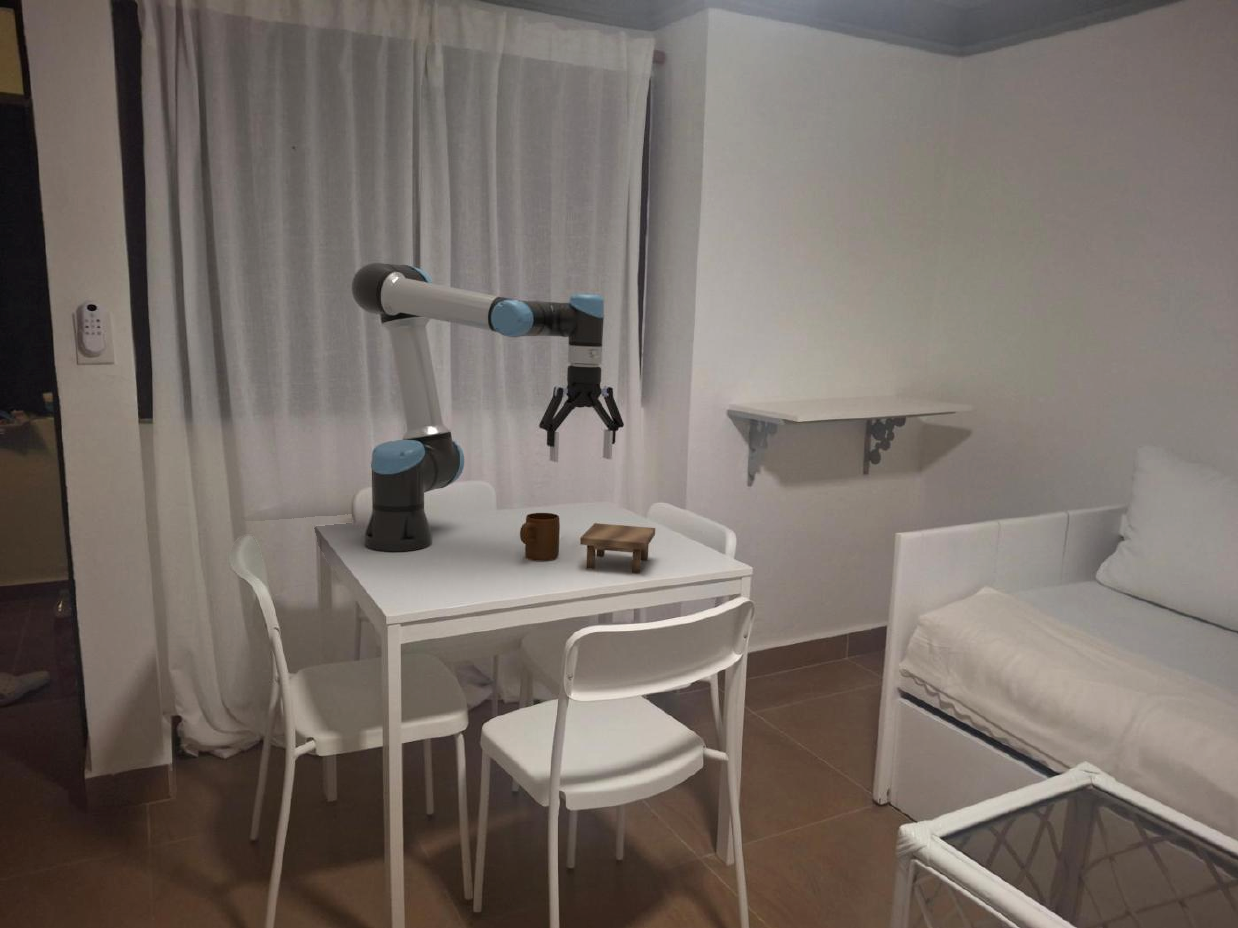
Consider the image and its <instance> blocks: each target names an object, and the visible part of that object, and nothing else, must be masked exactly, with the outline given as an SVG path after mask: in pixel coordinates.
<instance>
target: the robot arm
mask: <svg viewBox="0 0 1238 928" xmlns="http://www.w3.org/2000/svg"><path fill="white" fill-rule="evenodd" d="M351 294H352V296H353V300H354V301H355V303H356V304H357V305H358V306H359V307H360V308H361V309H362V310H364V311H365V312H367V313H371V314H375V315H379V317H380V322H381V327H383V328H385V329H386V330H387V331H388V332H389V335H390V341H391V347H392V353H393V358H394V365H395V368H396V374H397V375H396V376H397V380H398V384H399V385H398V387H399V390H400V397H401V402H402V409H403V413H404V419H405V424H406V425H405V426H406V429H407V430H406V432H405V434H403V437H402V439H398V440H393V441H392V440H390V441H386V442H383V443H379V444H377V445H376V446H375V447H374V448H373V450H372V453H371V462H370V466H371V467H370V469H371V502H372V507H371V508H372V511H371V515H370V518H369V522H368V523H367V527H366V529H365V533H364V545H365V546H366V547H367V548H368V549H372V550H375V551H380V552H407V551H408V552H409V551H416V550H419V549H420V550H421V549H424V548H427V547H430V546H431V544H432V543H433V533H432V530H431V527H430V523H429V520H428V517H427V515H426V513H425V493H428V492H430V491H434V490H436V489H437V490H439V489H443V488H446V487H447V486H449V485H451V484H454V483H455V482H456V481H457V480H458V479H459V478H460V477H461V475H462V474H463V470H464V467H465V456H464V455H465V454H464V452H463V448H462V447H461V446H460V445H459V444H457V441H456V440H453V436H452V431H451V429H449V428H448V427H446V425H444V421H443V418H442V417H443V416H442V412H441V411H442V410H441V405H440V400H439V395H438V389H437V384H436V378H435V371H434V365H433V361H432V355H431V350H430V344H429V343H430V342H429V337H428V331H427V325H428V324H429V322H430V320H437V321H441V322H447V323H451V324H456V325H461V326H466V327H471V328H476V329H481V330H486V331H490V332H495V333H498V334H499V335H501V336H505V337H508V338H509V337H510V338H519V337H563V338H567V339H568V348H567V349H568V351H567V362H568V363H569V365H568V367H567V369H566V370H567V372H566V373H567V375H566V382H567V384H566V385H567V386H566V387H565V388H564V387H561V386H554V387H553V393H552V398H551V399H550V400H549V401H550V402H549V403H548V405H547V408H546V409H545V412H544V414H543V416H542V418H541V420H540V421H539V425H538V427H539V429H542V430H545V431H546V445H547V447H549V461H551V462H553V463H558V462H559V444H560V433H559V432H558V431H557V430H558V429H559V428H560V427H561V425H562V424H563V422H564V421H565V420H566V419H567V418H568V416H569V415H570V414H571V412H572V411H573V410H575V408H584V407H586V408H592V409H593V410H594V411H595V412H596V414H597V416H598V417H599V418H600V419H601V421H602V422H603V424H604V425H605V426H606V428H607V429H604V430H603V446H602V447H603V449H602V458H604V459H605V460H606V459H607V460H612V459H613V445H615V443H616V432H618V430H619V429H620V428H623V427H624V426H625V423H624V421H623V419H622V415H621V413H620V411H619V408H618V405H617V403H616V400H615V399H614V389H613V387H612V386H606V385H604V386H603V387H601V381H602V368H601V366H600V365H602V359H603V335H604V319H605V313H604V312H605V309H604V307H605V306H604V298H603V297H602V296H601V295H598V294H579V293H578V294H577V293H574V294H573V293H572V294H571V295H570V297H569V300H568V301H569V302H555V301H540V300H520V299H515V298H510V297H503V296H498V295H492V294H487V293H482V292H477V291H473V290H466V289H463V288H456V287H452V286H446V285H441V284H436V283H433V280H432V279H431V277H430V276H429V275H428V274H427V273H426V272H425V271H423V270H422V269H420V268H418V267H414V266H412V265H408V264H392V263H391V264H389V263H383V262H373V263H368V264H365V265H364V266H362V267H361V268H359V269H358V270H357V272H356V273H355V275H354V276H353V278H352V282H351ZM565 396H567V399H566V400H565V401H564V402H563V406H561V408H560V409H559V407H560V405H561V403H562V401H563V398H564V397H565ZM600 396H602V397H603V400H604V402H605V405H606V408H607V410H608V412H609V414H608V412H607V411H606V409H605V408H604V406H603V404H602V402H601V400H599V398H600ZM558 409H559V410H558Z"/></svg>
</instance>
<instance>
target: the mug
mask: <svg viewBox="0 0 1238 928" xmlns="http://www.w3.org/2000/svg"><path fill="white" fill-rule="evenodd" d="M560 522H561V521H560V516H559V515H558V514H556V513H550V512H533V513H529V514H527V515H526V516H525V522H524V523H523V524H522V525H521V527H520V529H519V530H520V531H519V538H520V540H521V542H522V543H523V544H524V547H525V548H524V555H525V557H526V558H527V559H528V560H530V561H536V562H548V561H554V560H556V559H557V558H558V557H559V555H560V534H561V533H560V528H561V525H560Z"/></svg>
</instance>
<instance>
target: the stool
mask: <svg viewBox="0 0 1238 928" xmlns="http://www.w3.org/2000/svg"><path fill="white" fill-rule="evenodd" d="M655 535H656V527H648V526H647V527H646V526H635V525H624V524H623V525H620V524H611V523H610V524H609V523H596V522H595V523H593V524H592V525H591V526H590V528H588V529H587V530H586V531H585V533H584V534H582V536H580V539H579V545H581V546H586V569H589V570H593V569H594V570H595V568H596V557H597V558H605V551H607V552H608V551H609V552H621V553H622V552H623V553H632V564H631V565H632V566H631V572H632V573H633V574H640V573H641V572H642V571H641V568H642V567H641V566H642V565H641V564H642V561H643V562H646V561H648V560H649V547H650V546H649V545H650V544H651V542H652V540H653V539H654V537H655Z"/></svg>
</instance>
